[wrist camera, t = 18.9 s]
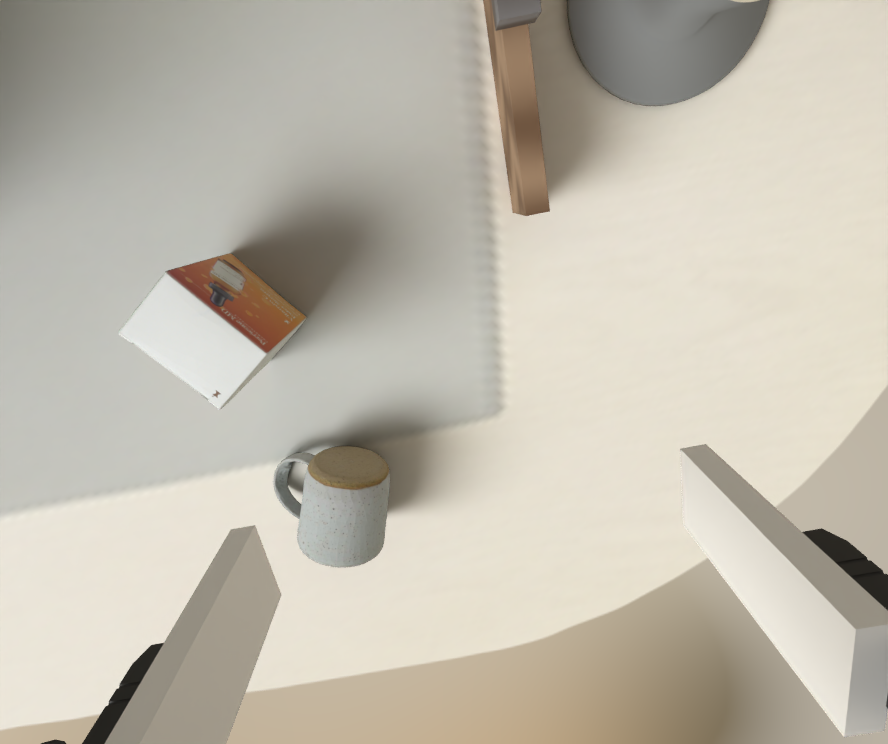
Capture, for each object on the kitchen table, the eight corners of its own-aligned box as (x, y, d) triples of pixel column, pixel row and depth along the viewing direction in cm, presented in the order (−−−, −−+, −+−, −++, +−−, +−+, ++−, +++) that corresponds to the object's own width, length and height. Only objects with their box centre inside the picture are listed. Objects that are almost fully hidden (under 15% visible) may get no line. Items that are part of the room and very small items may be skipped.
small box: (308, 317, 42) (271, 355, 33) (268, 363, 44) (220, 413, 34) (230, 249, 41) (164, 268, 31) (189, 300, 42) (114, 333, 32)
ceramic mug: (395, 445, 47) (387, 491, 39) (387, 520, 49) (378, 576, 42) (279, 432, 46) (249, 476, 39) (277, 508, 49) (249, 563, 42)
